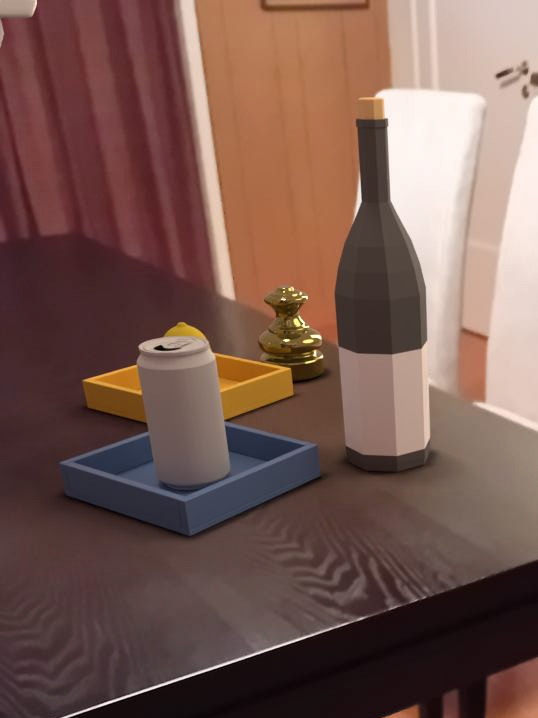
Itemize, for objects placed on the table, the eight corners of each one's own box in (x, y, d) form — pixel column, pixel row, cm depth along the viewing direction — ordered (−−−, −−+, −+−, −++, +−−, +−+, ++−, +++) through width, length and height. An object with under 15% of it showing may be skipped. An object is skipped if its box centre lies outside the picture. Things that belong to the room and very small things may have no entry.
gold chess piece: (288, 362, 124) (280, 277, 119) (337, 370, 121) (330, 284, 116) (248, 377, 119) (237, 289, 114) (298, 386, 115) (289, 296, 110)
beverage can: (142, 486, 88) (116, 347, 82) (190, 462, 93) (169, 330, 87) (200, 498, 86) (178, 356, 80) (246, 473, 91) (229, 338, 85)
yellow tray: (87, 407, 109) (81, 380, 107) (196, 373, 120) (192, 348, 119) (187, 433, 101) (182, 404, 100) (293, 395, 113) (291, 368, 111)
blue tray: (65, 495, 88) (58, 462, 86) (200, 444, 99) (196, 414, 97) (190, 536, 80) (184, 501, 79) (320, 476, 91) (318, 444, 90)
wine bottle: (401, 478, 91) (384, 101, 75) (329, 463, 94) (298, 99, 79) (447, 451, 97) (440, 96, 81) (377, 437, 100) (358, 95, 85)
